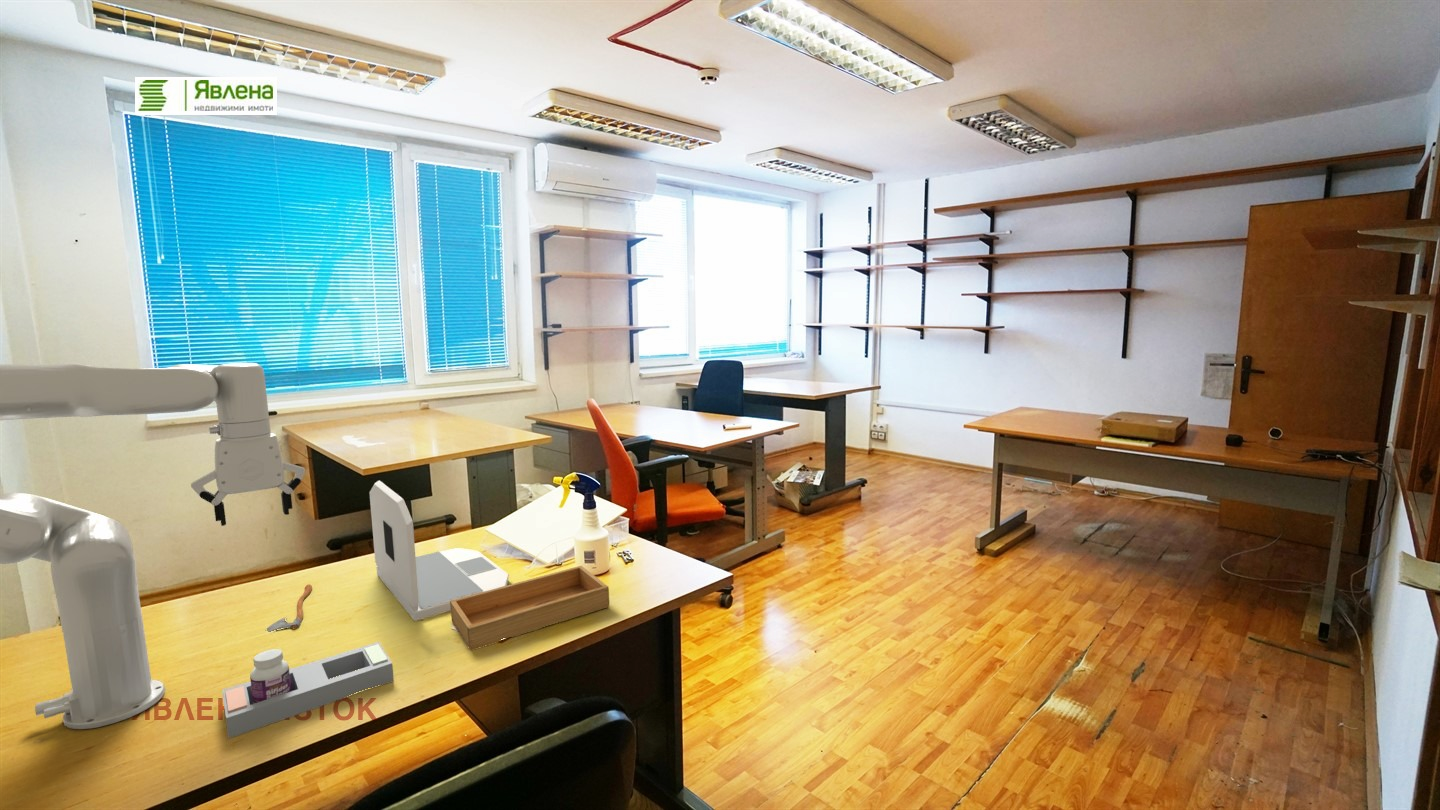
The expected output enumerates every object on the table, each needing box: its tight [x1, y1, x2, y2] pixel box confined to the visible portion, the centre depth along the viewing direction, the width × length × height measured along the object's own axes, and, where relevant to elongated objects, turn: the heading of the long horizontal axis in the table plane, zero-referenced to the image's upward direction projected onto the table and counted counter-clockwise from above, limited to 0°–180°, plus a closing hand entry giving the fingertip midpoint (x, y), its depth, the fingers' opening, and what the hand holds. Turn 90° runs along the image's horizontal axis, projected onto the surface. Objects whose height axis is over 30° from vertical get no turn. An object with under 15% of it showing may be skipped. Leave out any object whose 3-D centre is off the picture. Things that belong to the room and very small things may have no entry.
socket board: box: [221, 641, 395, 739], centre depth 111 cm, size 24×10×4 cm, turn 131°
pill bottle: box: [250, 648, 291, 704], centre depth 107 cm, size 5×5×10 cm
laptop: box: [368, 480, 510, 622], centre depth 156 cm, size 33×24×26 cm
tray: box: [450, 565, 610, 651], centre depth 140 cm, size 31×15×6 cm, turn 126°
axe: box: [266, 583, 313, 632], centre depth 143 cm, size 22×6×2 cm, turn 26°
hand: (255, 518), depth 119 cm, fingers open, 9 cm apart
